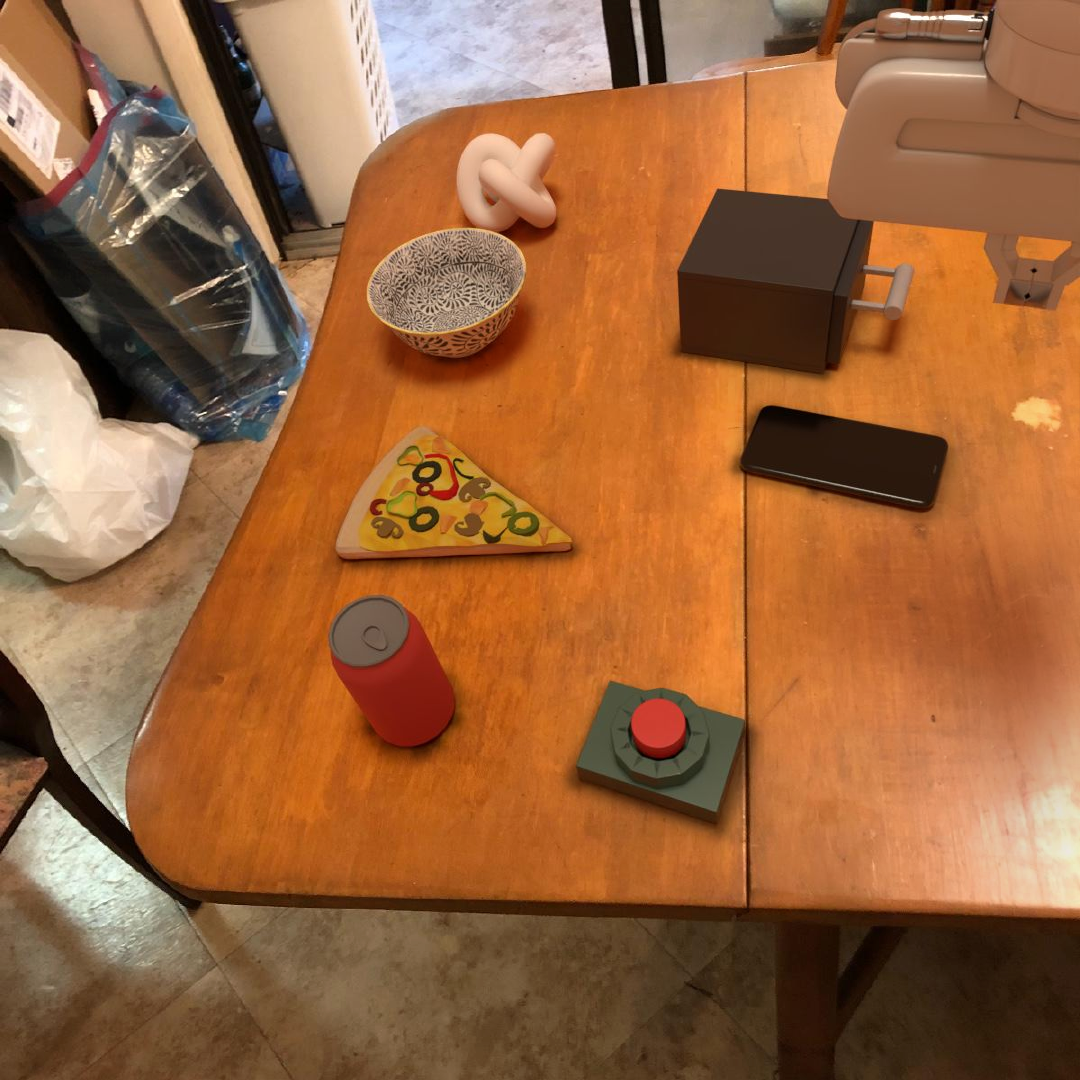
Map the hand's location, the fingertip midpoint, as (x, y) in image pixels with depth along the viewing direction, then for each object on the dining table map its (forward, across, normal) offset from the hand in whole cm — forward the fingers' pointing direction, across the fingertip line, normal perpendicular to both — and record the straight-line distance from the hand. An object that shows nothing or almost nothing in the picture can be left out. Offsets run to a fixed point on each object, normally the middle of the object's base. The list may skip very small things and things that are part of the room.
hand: (1024, 299), depth 47 cm
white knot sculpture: (+29, -52, +40) cm, 72 cm away
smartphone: (+29, -9, +13) cm, 33 cm away
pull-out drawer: (+28, -16, +29) cm, 43 cm away
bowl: (+29, -49, +20) cm, 60 cm away
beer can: (+29, -34, -20) cm, 49 cm away
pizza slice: (+29, -38, -2) cm, 48 cm away
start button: (+25, -15, -18) cm, 34 cm away
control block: (+29, -15, -18) cm, 37 cm away
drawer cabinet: (+29, -20, +29) cm, 45 cm away
